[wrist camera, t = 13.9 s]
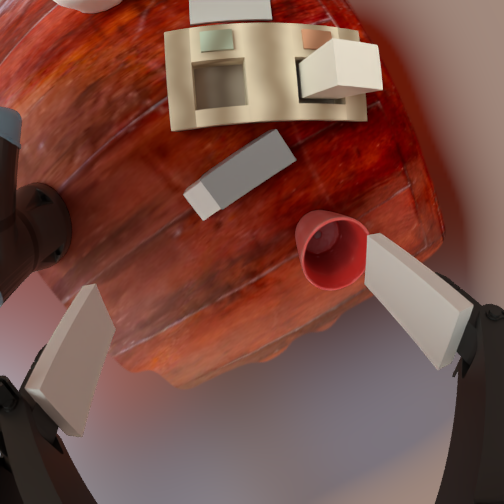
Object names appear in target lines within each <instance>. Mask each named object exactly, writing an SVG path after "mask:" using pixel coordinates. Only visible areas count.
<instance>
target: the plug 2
mask: <svg viewBox="0 0 504 504" xmlns="http://www.w3.org/2000/svg"><path fill="white" fill-rule="evenodd" d="M296 75H297V86H298V97H299V99H321V100H328V99H340V98H344V97H349V96H354V95H359V94H364V93H369V92H374V91H380V90H383V85H382V75H381V66H380V58H379V51H378V45H373V44H368V43H362V42H356V41H350V40H343V39H335V38H332V39H331V40H329V41H328V42H327V43H325V44H324V45H323V46H321V47H320V48H318V49H317V50H316V51H315V52H313V53H312V54H311V55H309V56H308V57H307V58H305V59H304V60H303V61H302V62H300V63H299V67H297V68H296Z"/></svg>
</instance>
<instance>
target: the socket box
mask: <svg viewBox="0 0 504 504" xmlns="http://www.w3.org/2000/svg"><path fill="white" fill-rule="evenodd" d="M332 38H335V39H343V40H350V41H356V42H360V41H359V34H358V31H356V30H350V29H343V28H336V27H328V26H319V25H308V24H293V23H237V24H222V25H211V26H202V27H194V28H187V29H180V30H174V31H168V32H164V40H165V60H166V76H167V90H168V102H169V113H170V123H171V131H176V132H179V131H185V130H192V129H200V128H208V127H216V126H225V125H236V124H248V123H262V122H283V121H347V122H352V121H367V107H366V93H364V94H359V95H354V96H349V97H344V98H340V99H328V100H321V99H299V97H298V86H297V75H296V68H297V67H299V63H300V62H302V61H303V60H304V59H305V58H307V57H308V56H309V55H311V54H312V53H313V52H315V51H316V50H317V49H318V48H320V47H321V46H323V45H324V44H325V43H327V42H328V41H329V40H331V39H332Z"/></svg>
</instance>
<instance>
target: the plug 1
mask: <svg viewBox="0 0 504 504" xmlns="http://www.w3.org/2000/svg"><path fill="white" fill-rule="evenodd" d="M295 161H296V159H295V157H294V156H293V154H292V152H291V151H290V149H289V148H288V146H287V145H286V143H285V141H284V140H283V138H282V137H281V135H280V134H279V132H278V131H277V129H272V130H269V131H267V132H265V133H264V134H262V135H261V136H259V137H258V138H256V139H254V140H253V141H251V142H250V143H248V144H247V145H245V146H244V147H242V148H241V149H239V150H238V151H236V152H235V153H233V154H232V155H230V156H229V157H227V158H226V159H224V160H223V161H222V162H220V163H219V164H217V165H216V166H214V167H213V168H212V169H210V170H209V171H207V172H206V173H205V174H203V175H202V177H201V178H200V179H199V180H197V181H196V182H194V183H193V184H192V185H190V186H189V187H188V188H186V190H185V192H184V194H183V195H184V197H185V198H186V199H187V201H188V202H189V203H190V204H191V206H192V207H193V208H194V210H195V211H196V212H197V214H198V215H199V216H200V217H201V219H202V220H203V221H204V220H206V219H207V218H208V217H210V216H211V215H213V214H214V213H215V212H217V211H218V210H220V209H222V210H223V209H224V208H226V207H227V206H229V205H230V204H231V203H233V202H234V201H236V200H237V199H239V198H240V197H242V196H243V195H245V194H246V193H248V192H249V191H250V190H252V189H253V188H255V187H256V186H258V185H259V184H261V183H262V182H264V181H265V180H267V179H269V178H270V177H272V176H273V175H275V174H276V173H278V172H279V171H281V170H282V169H284V168H285V167H287V166H288V165H290V164H292V163H293V162H295Z"/></svg>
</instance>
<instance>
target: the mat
mask: <svg viewBox="0 0 504 504" xmlns="http://www.w3.org/2000/svg"><path fill="white" fill-rule="evenodd" d="M189 10H190V25H198V24H207V23H217V22H230V21H255V20H272V14H271V6H270V0H189Z"/></svg>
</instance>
